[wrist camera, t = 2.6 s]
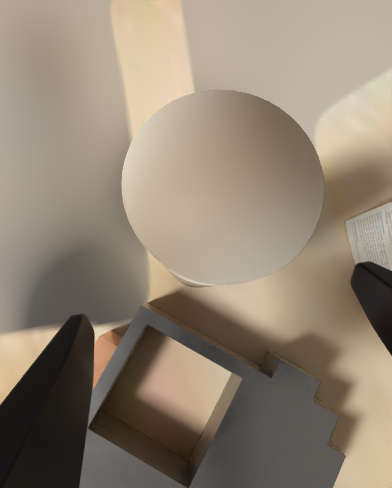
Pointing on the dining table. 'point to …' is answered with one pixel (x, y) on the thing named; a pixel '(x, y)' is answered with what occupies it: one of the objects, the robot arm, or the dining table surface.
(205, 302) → the dining table surface
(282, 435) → the pixel heart plate
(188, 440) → the dining table surface
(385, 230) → the light bulb box
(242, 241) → the pin
